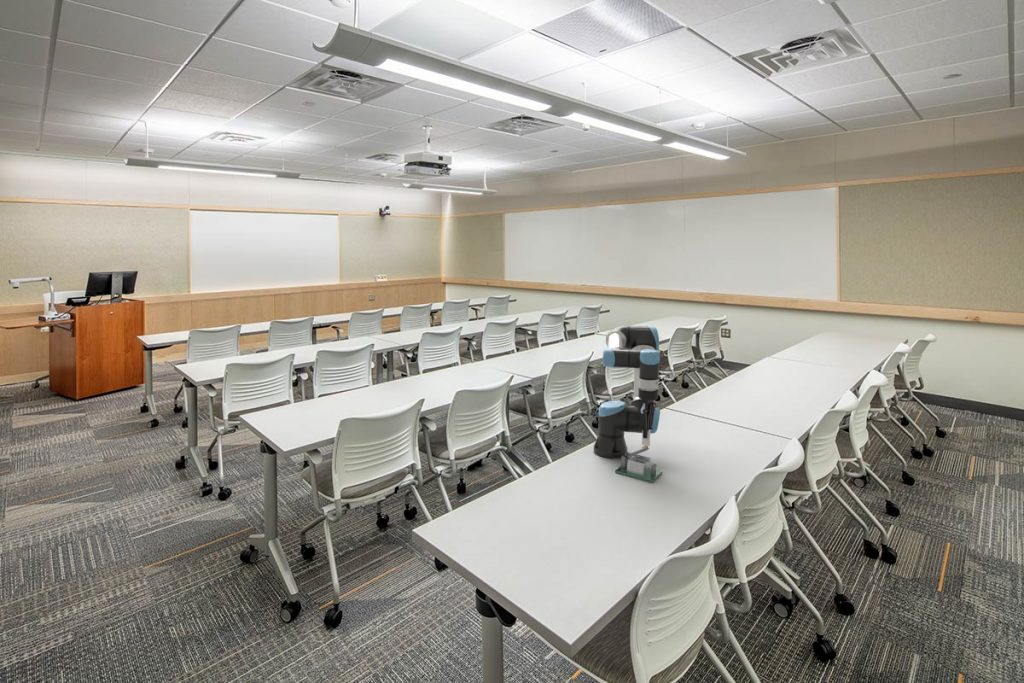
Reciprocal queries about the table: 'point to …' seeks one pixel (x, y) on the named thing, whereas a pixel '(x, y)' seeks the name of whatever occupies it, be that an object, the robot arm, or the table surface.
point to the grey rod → (637, 451)
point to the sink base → (638, 468)
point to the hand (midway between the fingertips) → (645, 444)
